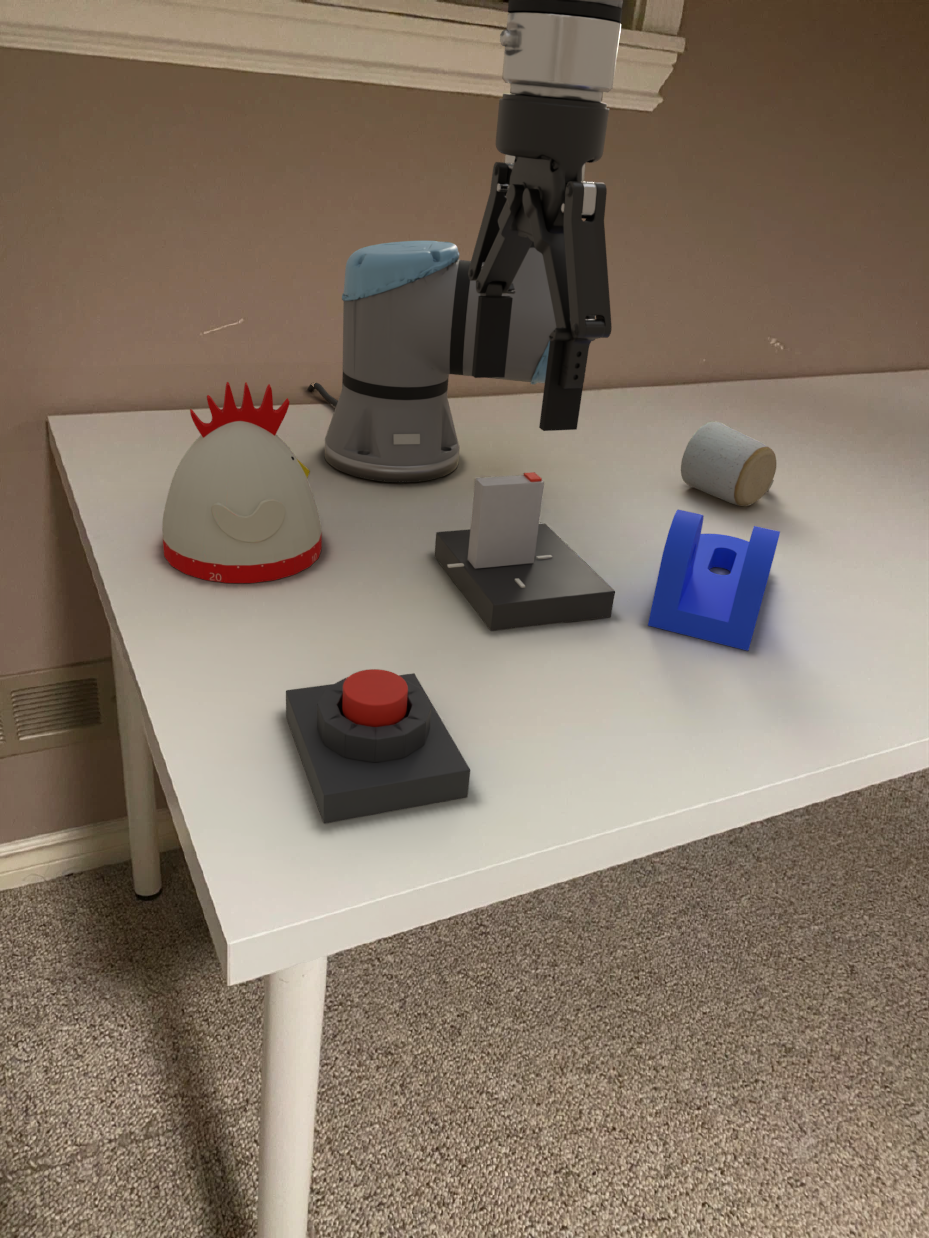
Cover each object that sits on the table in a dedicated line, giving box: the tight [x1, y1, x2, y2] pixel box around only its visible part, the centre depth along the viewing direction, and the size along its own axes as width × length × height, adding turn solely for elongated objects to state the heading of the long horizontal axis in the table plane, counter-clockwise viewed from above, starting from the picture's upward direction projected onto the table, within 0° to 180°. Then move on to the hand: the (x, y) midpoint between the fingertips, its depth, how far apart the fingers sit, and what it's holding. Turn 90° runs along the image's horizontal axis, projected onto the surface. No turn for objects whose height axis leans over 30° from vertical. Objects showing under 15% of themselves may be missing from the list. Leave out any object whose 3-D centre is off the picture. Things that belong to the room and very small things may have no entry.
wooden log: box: [680, 420, 777, 507], centre depth 106 cm, size 11×8×8 cm
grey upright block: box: [468, 471, 545, 569], centre depth 80 cm, size 6×2×8 cm, turn 111°
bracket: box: [647, 509, 781, 652], centre depth 83 cm, size 18×8×9 cm, turn 159°
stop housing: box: [285, 672, 471, 824], centre depth 60 cm, size 11×9×4 cm
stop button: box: [342, 668, 408, 727], centre depth 59 cm, size 4×4×2 cm
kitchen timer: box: [161, 381, 323, 584], centre depth 82 cm, size 14×14×15 cm
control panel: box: [433, 523, 616, 632], centre depth 83 cm, size 14×12×3 cm
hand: (520, 401), depth 75 cm, fingers open, 13 cm apart
